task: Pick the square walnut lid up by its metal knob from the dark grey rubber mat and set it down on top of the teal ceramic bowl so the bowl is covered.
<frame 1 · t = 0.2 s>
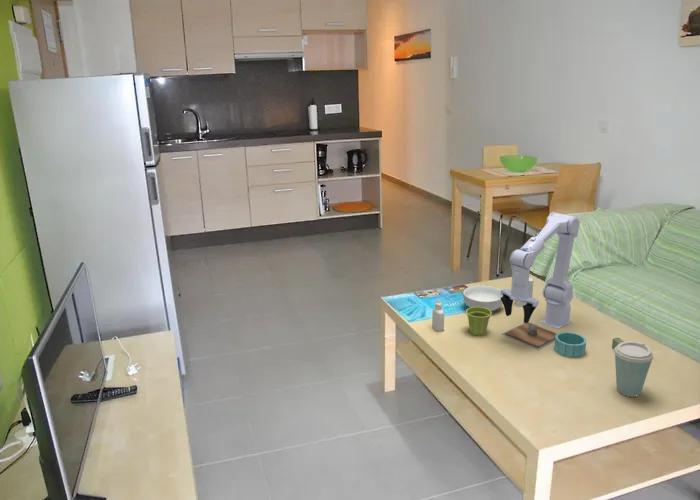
hand: (517, 318, 196), 10 cm above the table, tool pointing down, fingers open, 7 cm apart
medication box: (625, 356, 189), on the table
skincare box: (522, 305, 230), on the table
eye dropper bottle: (437, 329, 211), on the table
disposable coffee cup: (627, 391, 168), on the table
plant pot: (477, 333, 207), on the table
rubber mat: (532, 336, 203), on the table
walnut lid: (532, 335, 203), resting on rubber mat
teal bowl: (569, 351, 192), on the table
cereal bowl: (482, 308, 228), on the table
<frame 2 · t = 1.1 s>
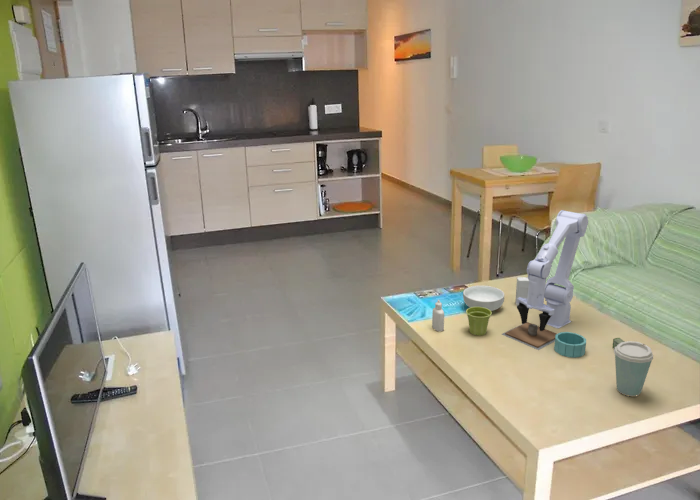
hand: (533, 326, 202), 4 cm above the table, tool pointing down, fingers open, 7 cm apart
nothing on the table moved.
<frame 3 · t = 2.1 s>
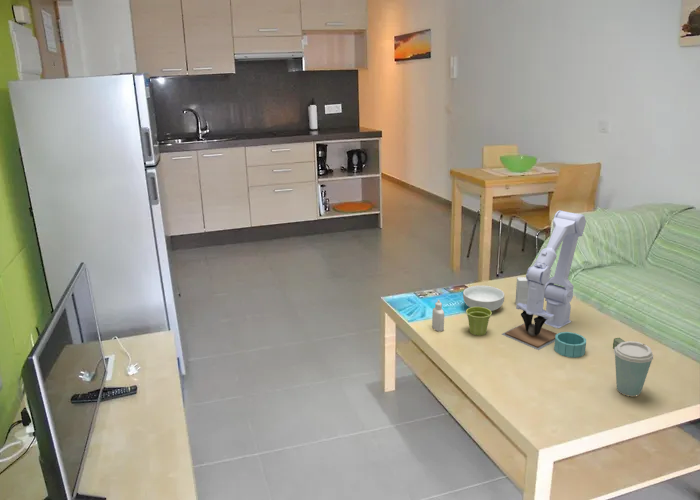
hand: (532, 332, 203), 2 cm above the table, tool pointing down, fingers closed on walnut lid, 3 cm apart
walnut lid: (532, 335, 203), resting on rubber mat, touching gripper
everything else where it was.
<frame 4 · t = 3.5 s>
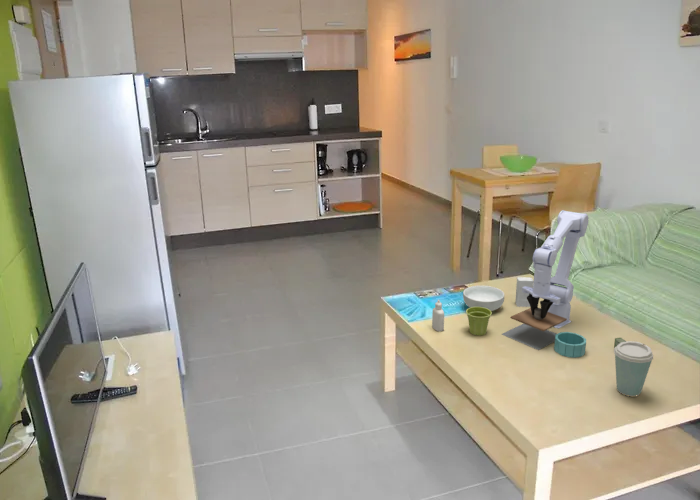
hand: (538, 315, 199), 9 cm above the table, tool pointing down, fingers closed on walnut lid, 3 cm apart
walnut lid: (538, 319, 199), point 8 cm above the table, touching gripper
everything else where it was.
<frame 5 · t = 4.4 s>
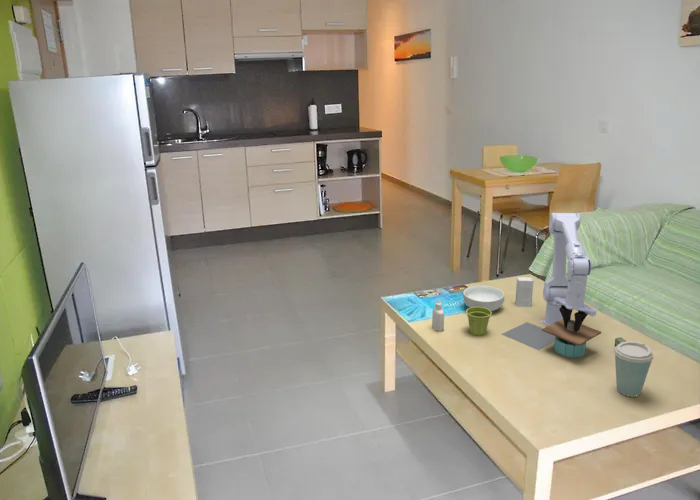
hand: (571, 328, 189), 9 cm above the table, tool pointing down, fingers closed on walnut lid, 3 cm apart
walnut lid: (571, 331, 190), point 8 cm above the table, touching gripper
when the fingers open (7 cm above the table, at t = 4.9 s): walnut lid drops 1 cm, resting on teal bowl.
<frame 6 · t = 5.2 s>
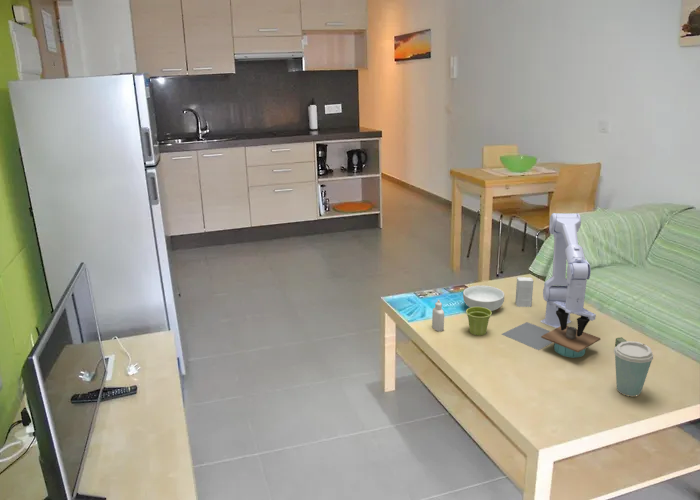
hand: (571, 332, 190), 7 cm above the table, tool pointing down, fingers open, 5 cm apart
walnut lid: (570, 338, 190), point 5 cm above the table, touching teal bowl
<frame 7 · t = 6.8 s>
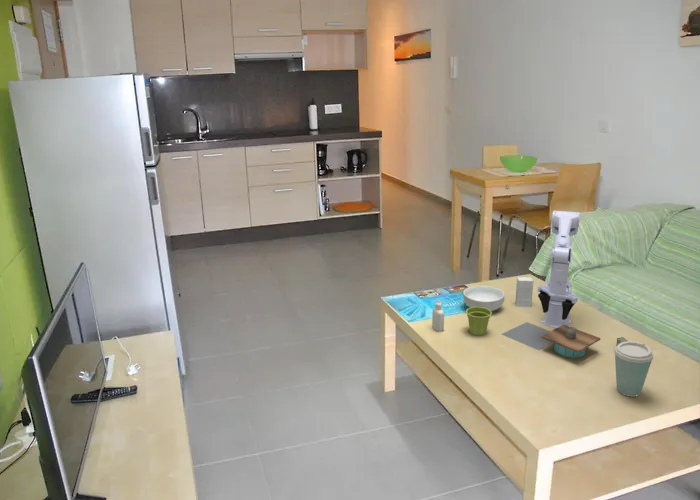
hand: (554, 315, 196), 10 cm above the table, tool pointing down, fingers open, 7 cm apart
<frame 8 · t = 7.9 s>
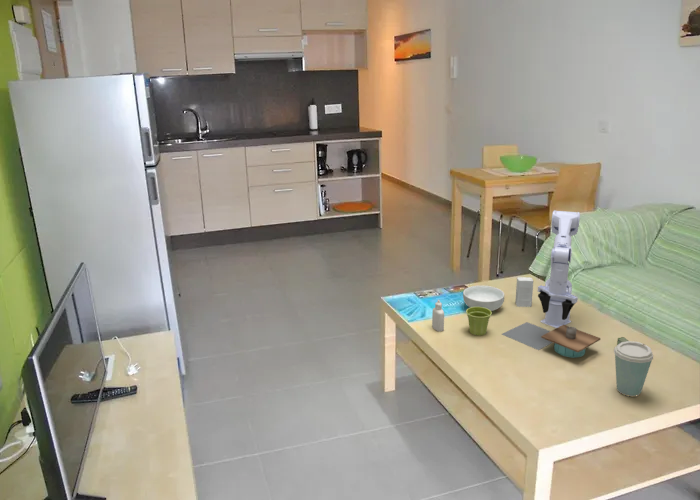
hand: (554, 315, 196), 10 cm above the table, tool pointing down, fingers open, 7 cm apart
at the end: walnut lid 0.1 cm off-centre on the teal bowl, point 5.0 cm above the teal bowl's base; walnut lid tilted 0°; the gripper is holding nothing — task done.
